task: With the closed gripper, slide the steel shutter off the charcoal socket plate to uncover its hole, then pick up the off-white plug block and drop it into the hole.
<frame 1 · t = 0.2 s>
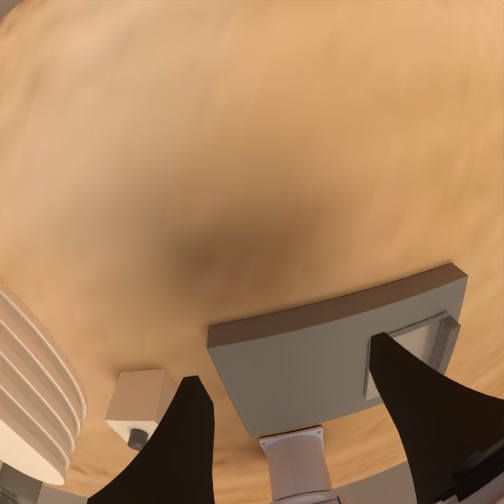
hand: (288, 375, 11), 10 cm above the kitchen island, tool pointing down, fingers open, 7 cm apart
plate stack: (1, 353, 23), on the kitchen island
socket: (347, 355, 24), on the kitchen island
shutter: (410, 365, 21), point 4 cm above the kitchen island, slide at 0.0 cm
grey stone figurine: (32, 446, 35), on the kitchen island
plug: (151, 383, 24), on the kitchen island
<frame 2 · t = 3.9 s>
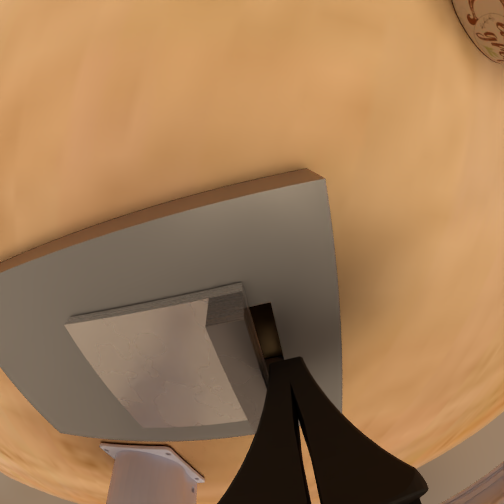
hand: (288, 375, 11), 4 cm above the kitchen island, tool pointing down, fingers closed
mug: (494, 19, 7), on the kitchen island
socket: (130, 344, 15), on the kitchen island
shutter: (175, 389, 11), point 4 cm above the kitchen island, slide at 1.6 cm, touching gripper
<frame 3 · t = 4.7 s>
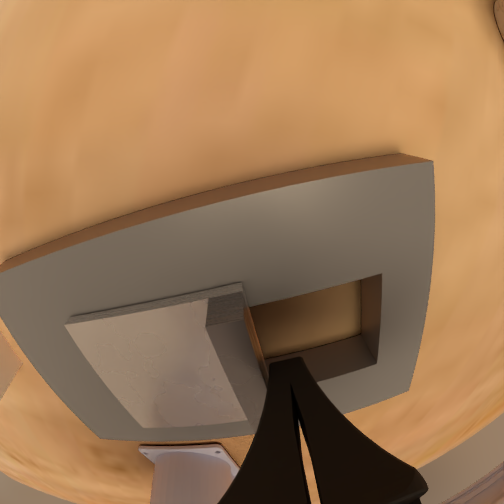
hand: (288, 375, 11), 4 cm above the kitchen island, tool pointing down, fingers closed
socket: (206, 332, 14), on the kitchen island
shutter: (175, 389, 11), point 4 cm above the kitchen island, slide at 6.2 cm, touching gripper
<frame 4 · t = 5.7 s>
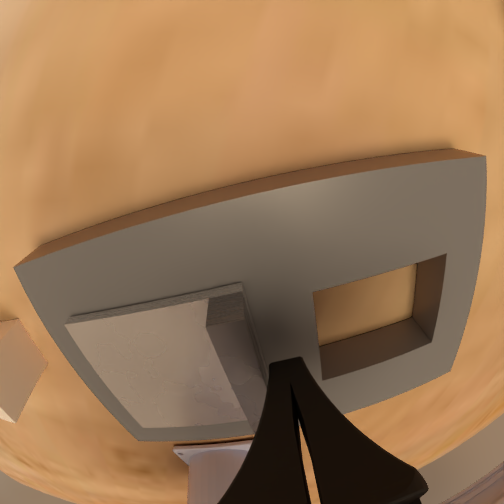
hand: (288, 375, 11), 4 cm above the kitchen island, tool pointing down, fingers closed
socket: (274, 318, 14), on the kitchen island
shutter: (175, 389, 11), point 4 cm above the kitchen island, slide at 9.8 cm, touching gripper
plug: (15, 343, 15), on the kitchen island
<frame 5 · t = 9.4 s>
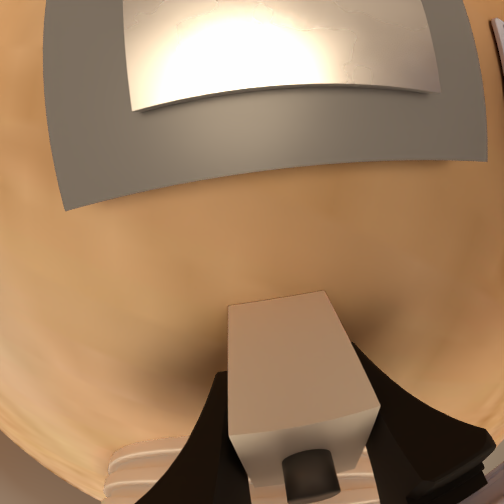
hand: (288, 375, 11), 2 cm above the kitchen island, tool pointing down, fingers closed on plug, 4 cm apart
plate stack: (245, 486, 22), on the kitchen island
plug: (281, 342, 13), on the kitchen island, touching gripper
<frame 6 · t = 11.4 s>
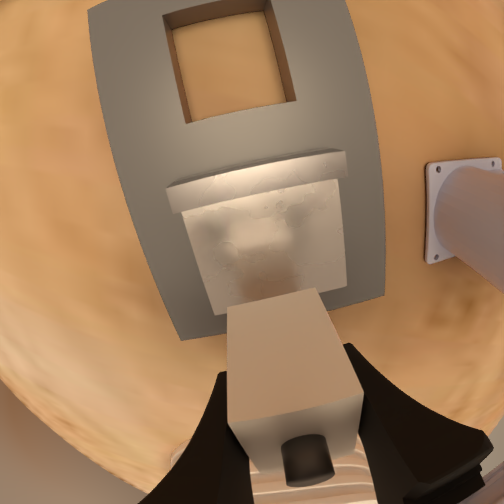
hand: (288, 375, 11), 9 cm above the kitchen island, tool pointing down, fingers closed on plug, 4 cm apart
plate stack: (267, 464, 33), on the kitchen island
socket: (246, 141, 16), on the kitchen island
shutter: (270, 242, 14), point 4 cm above the kitchen island, slide at 9.9 cm
plug: (280, 338, 13), point 6 cm above the kitchen island, touching gripper
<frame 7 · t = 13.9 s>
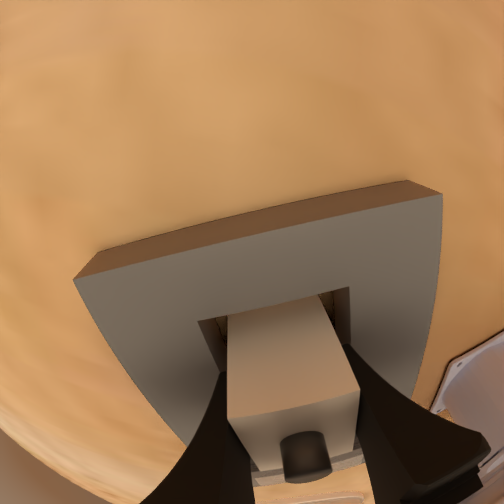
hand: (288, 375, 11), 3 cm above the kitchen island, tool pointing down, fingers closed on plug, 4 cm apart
socket: (292, 389, 16), on the kitchen island
shutter: (309, 467, 14), point 4 cm above the kitchen island, slide at 9.9 cm
plug: (280, 337, 14), resting in socket, touching gripper
when the fingers open (3 cm above the kitchen island, at t = 14.1 s): plug stays where it is, resting in socket.
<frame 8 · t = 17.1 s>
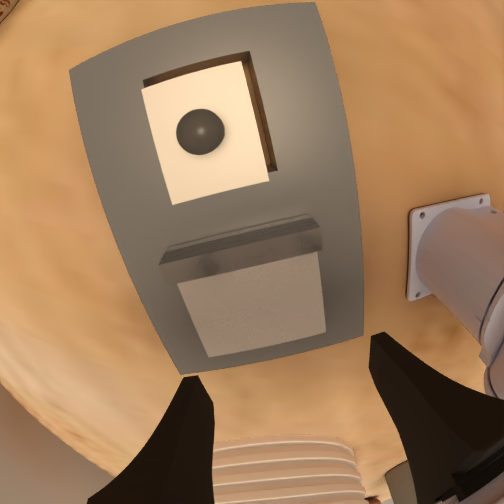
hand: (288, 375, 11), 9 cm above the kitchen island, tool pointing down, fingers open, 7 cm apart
plate stack: (264, 470, 35), on the kitchen island
ceramic jug: (356, 502, 55), on the kitchen island
socket: (232, 202, 17), on the kitchen island
shutter: (254, 302, 16), point 4 cm above the kitchen island, slide at 9.9 cm
grey stone figurine: (402, 465, 43), on the kitchen island
plug: (214, 132, 16), resting in socket
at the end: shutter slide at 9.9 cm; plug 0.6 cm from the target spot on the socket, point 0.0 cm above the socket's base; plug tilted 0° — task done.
